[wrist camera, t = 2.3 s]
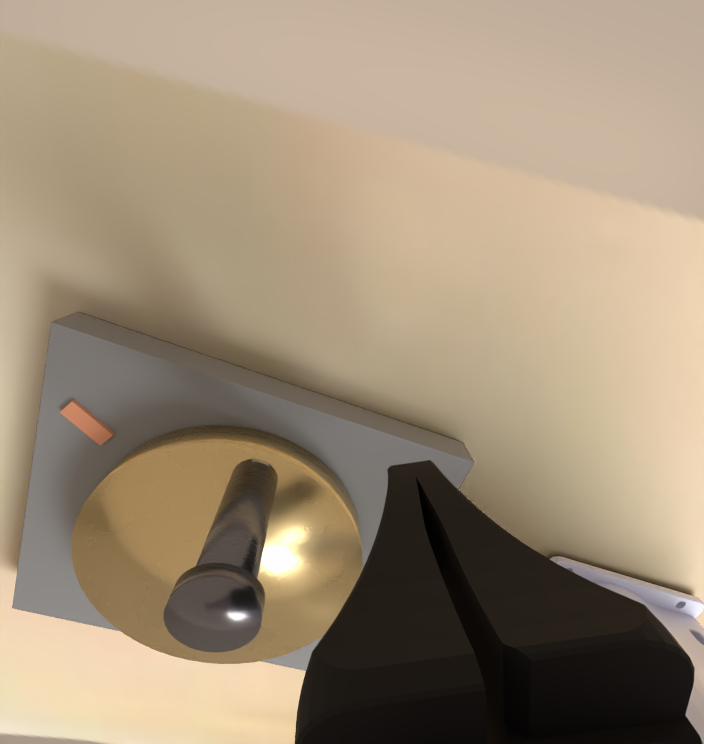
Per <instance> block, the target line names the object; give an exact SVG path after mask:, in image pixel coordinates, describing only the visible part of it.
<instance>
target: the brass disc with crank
mask: <svg viewBox="0 0 704 744" xmlns="http://www.w3.org/2000/svg"><path fill="white" fill-rule="evenodd" d="M71 553H72V563H73V566H74V570H75V574H76V577H77V579H78V581H79V584H80V586H81V588H82V590H83V592H84V593H85V595H86V596H87V598H88V599H89V601H90V602H91V604H92V605H93V606H94V607H95V608H96V609H97V611H98V612H99V613H100V614H101V615H102V616H103V617H104V618H105V619H106V620H107V621H109V622H110V623H111V624H112V625H113V626H114V627H116V628H117V629H119V630H120V631H121V632H123V633H124V634H125V635H127V636H129V637H131V638H132V639H134V640H136V641H137V642H139V643H141V644H143V645H145V646H148V647H150V648H152V649H154V650H157V651H160V652H163V653H165V654H168V655H171V656H175V657H179V658H183V659H187V660H193V661H199V662H205V663H218V664H239V663H249V662H257V661H262V660H268V659H272V658H276V657H279V656H283V655H286V654H289V653H291V652H294V651H296V650H299V649H301V648H303V647H305V646H307V645H309V644H310V643H312V642H314V641H316V640H317V639H319V638H320V637H321V636H323V635H324V634H325V633H326V632H327V630H328V629H329V627H330V626H331V625H332V623H333V622H334V620H335V619H336V617H337V616H338V614H339V612H340V610H341V609H342V607H343V605H344V604H345V602H346V600H347V599H348V597H349V595H350V593H351V592H352V590H353V588H354V586H355V584H356V582H357V580H358V578H359V576H360V574H361V572H362V569H363V557H362V545H361V533H360V522H359V518H358V514H357V510H356V507H355V505H354V503H353V500H352V498H351V496H350V494H349V492H348V491H347V489H346V488H345V486H344V484H343V483H342V481H341V480H340V479H339V478H338V477H337V476H336V475H335V473H334V472H333V471H332V470H331V469H330V468H329V467H328V466H327V465H326V464H324V463H323V462H322V461H321V460H320V459H319V458H317V457H316V456H314V455H313V454H311V453H310V452H309V451H307V450H306V449H304V448H302V447H300V446H298V445H296V444H294V443H293V442H291V441H289V440H286V439H284V438H281V437H279V436H276V435H273V434H271V433H267V432H263V431H259V430H255V429H251V428H244V427H237V426H222V425H209V426H198V427H190V428H185V429H181V430H176V431H172V432H169V433H166V434H164V435H161V436H158V437H155V438H153V439H151V440H149V441H147V442H145V443H143V444H141V445H140V446H138V447H137V448H135V449H134V450H133V451H131V452H130V453H128V454H127V455H126V456H125V457H124V458H123V459H122V460H121V461H119V462H118V463H117V464H116V465H115V466H114V468H113V469H112V470H111V471H110V472H109V473H108V475H107V476H106V477H105V478H104V479H103V480H102V481H101V483H100V484H99V485H98V486H97V487H96V488H95V490H94V491H93V492H92V493H91V495H90V496H89V497H88V499H87V500H86V501H85V503H84V504H83V506H82V508H81V510H80V512H79V514H78V516H77V518H76V522H75V525H74V528H73V532H72V541H71Z"/></svg>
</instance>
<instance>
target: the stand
mask: <svg viewBox="0 0 704 744" xmlns="http://www.w3.org/2000/svg"><path fill="white" fill-rule="evenodd" d="M209 425H222V426H237V427H244V428H251V429H255V430H259V431H263V432H267V433H271V434H273V435H276V436H279V437H281V438H284V439H286V440H289V441H291V442H293V443H294V444H296V445H298V446H300V447H302V448H304V449H306V450H307V451H309V452H310V453H311V454H313V455H314V456H316V457H317V458H319V459H320V460H321V461H322V462H323V463H324V464H326V465H327V466H328V467H329V468H330V469H331V470H332V471H333V472H334V473H335V475H336V476H337V477H338V478H339V479H340V480H341V481H342V483H343V484H344V486H345V488H346V489H347V491H348V492H349V494H350V496H351V498H352V500H353V503H354V505H355V507H356V510H357V514H358V518H359V522H360V533H361V545H362V557H363V568H364V566H365V563H366V561H367V559H368V556H369V554H370V551H371V549H372V546H373V543H374V541H375V538H376V535H377V532H378V528H379V525H380V521H381V518H382V514H383V510H384V505H385V500H386V495H387V487H388V472H387V469H388V468H389V467H390V466H392V465H399V464H406V463H413V462H420V461H427V460H431V461H432V462H433V463H434V464H435V465H436V466H437V467H438V468H439V470H440V471H441V472H442V473H443V474H444V475H445V476H446V477H447V479H448V480H449V481H450V482H451V483H452V484H453V485H454V486H455V487H456V488H457V489H459V487H460V486H461V484H462V482H463V480H464V479H465V477H466V475H467V474H468V472H469V470H470V469H471V467H472V465H473V463H474V461H473V460H472V458H471V456H470V454H469V452H468V451H467V449H466V447H465V445H464V443H463V442H460V441H457V440H454V439H451V438H448V437H445V436H442V435H439V434H436V433H433V432H431V431H428V430H425V429H422V428H419V427H416V426H413V425H410V424H407V423H404V422H401V421H398V420H395V419H392V418H389V417H386V416H383V415H380V414H377V413H375V412H372V411H369V410H366V409H363V408H360V407H357V406H354V405H351V404H348V403H345V402H342V401H339V400H336V399H333V398H330V397H327V396H324V395H321V394H318V393H316V392H313V391H310V390H307V389H304V388H301V387H298V386H295V385H292V384H289V383H286V382H283V381H280V380H277V379H274V378H271V377H268V376H265V375H262V374H260V373H257V372H254V371H251V370H248V369H245V368H242V367H239V366H236V365H233V364H230V363H227V362H224V361H221V360H218V359H215V358H212V357H209V356H206V355H203V354H201V353H198V352H195V351H192V350H189V349H186V348H183V347H180V346H177V345H174V344H171V343H168V342H165V341H162V340H159V339H156V338H153V337H150V336H147V335H145V334H142V333H139V332H136V331H133V330H130V329H127V328H124V327H121V326H118V325H115V324H112V323H109V322H106V321H103V320H100V319H97V318H94V317H91V316H88V315H86V314H83V313H80V312H76V313H74V314H71V315H69V316H66V317H64V318H61V319H59V320H56V321H54V322H51V329H50V336H49V343H48V350H47V358H46V365H45V372H44V380H43V387H42V394H41V402H40V409H39V416H38V423H37V431H36V438H35V445H34V453H33V460H32V467H31V475H30V482H29V489H28V496H27V504H26V511H25V518H24V526H23V533H22V540H21V547H20V555H19V562H18V569H17V577H16V584H15V591H14V599H13V606H12V608H14V609H18V610H23V611H28V612H32V613H37V614H42V615H46V616H51V617H56V618H61V619H65V620H70V621H75V622H79V623H84V624H89V625H93V626H98V627H103V628H107V629H112V630H117V631H120V630H119V629H117V628H116V627H114V626H113V625H112V624H111V623H110V622H109V621H107V620H106V619H105V618H104V617H103V616H102V615H101V614H100V613H99V612H98V611H97V609H96V608H95V607H94V606H93V605H92V604H91V602H90V601H89V599H88V598H87V596H86V595H85V593H84V592H83V590H82V588H81V586H80V584H79V581H78V579H77V577H76V574H75V570H74V566H73V563H72V553H71V541H72V532H73V528H74V525H75V522H76V518H77V516H78V514H79V512H80V510H81V508H82V506H83V504H84V503H85V501H86V500H87V499H88V497H89V496H90V495H91V493H92V492H93V491H94V490H95V488H96V487H97V486H98V485H99V484H100V483H101V481H102V480H103V479H104V478H105V477H106V476H107V475H108V473H109V472H110V471H111V470H112V469H113V468H114V466H115V465H116V464H117V463H118V462H119V461H121V460H122V459H123V458H124V457H125V456H126V455H127V454H128V453H130V452H131V451H133V450H134V449H135V448H137V447H138V446H140V445H141V444H143V443H145V442H147V441H149V440H151V439H153V438H155V437H158V436H161V435H164V434H166V433H169V432H172V431H176V430H181V429H185V428H190V427H198V426H209ZM362 570H363V569H362ZM323 636H324V635H323ZM323 636H321V637H320V638H319V639H317V640H316V641H314V642H312V643H310V644H309V645H307V646H305V647H303V648H301V649H299V650H296V651H294V652H291V653H289V654H286V655H283V656H279V657H276V658H272V659H268V660H262V662H267V663H272V664H276V665H281V666H286V667H290V668H295V669H300V670H304V671H306V670H307V667H308V663H309V660H310V657H311V654H312V651H313V650H314V648H315V647H316V646H317V644H318V643H319V641H320V640H321V639H322V637H323Z"/></svg>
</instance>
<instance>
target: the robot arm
mask: <svg viewBox="0 0 704 744" xmlns="http://www.w3.org/2000/svg"><path fill="white" fill-rule="evenodd" d="M387 472H388V487H387V495H386V500H385V505H384V510H383V514H382V518H381V521H380V525H379V528H378V532H377V535H376V538H375V541H374V543H373V546H372V549H371V551H370V554H369V556H368V559H367V561H366V563H365V566H364V568H363V570H362V572H361V574H360V576H359V578H358V580H357V582H356V584H355V586H354V588H353V590H352V592H351V593H350V595H349V597H348V599H347V600H346V602H345V604H344V605H343V607H342V609H341V610H340V612H339V614H338V616H337V617H336V619H335V620H334V622H333V623H332V625H331V626H330V627H329V629H328V630H327V632H326V633H325V634H324V636H323V637H322V639H321V640H320V641H319V643H318V644H317V646H316V647H315V648H314V650H313V651H312V654H311V657H310V660H309V663H308V667H307V670H306V673H305V677H304V681H303V685H302V689H301V694H300V699H299V705H298V711H297V721H296V734H295V744H704V628H703V627H702V626H701V625H700V623H699V622H698V621H697V620H696V618H697V616H698V615H699V614H700V613H701V612H702V611H703V610H704V603H703V602H702V601H701V600H700V599H699V598H697V597H695V596H692V595H688V594H685V593H682V592H678V591H675V590H672V589H668V588H665V587H662V586H658V585H655V584H651V583H648V582H645V581H641V580H638V579H635V578H631V577H628V576H625V575H621V574H618V573H615V572H611V571H608V570H605V569H601V568H598V567H594V566H591V565H588V564H584V563H581V562H578V561H574V560H571V559H568V558H564V557H560V556H556V557H552V558H550V559H548V558H546V557H545V556H543V555H541V554H540V553H538V552H536V551H535V550H533V549H531V548H530V547H528V546H527V545H525V544H524V543H522V542H521V541H519V540H518V539H516V538H515V537H514V536H512V535H511V534H509V533H508V532H507V531H505V530H504V529H503V528H501V527H500V526H499V525H497V524H496V523H495V522H494V521H492V520H491V519H490V518H489V517H488V516H486V515H485V514H484V513H483V512H482V511H480V510H479V509H478V508H477V507H476V506H475V505H474V504H473V503H472V502H471V501H469V500H468V499H467V498H466V497H465V496H464V495H463V494H462V493H461V492H460V491H459V490H458V489H457V488H456V487H455V486H454V485H453V484H452V483H451V482H450V481H449V480H448V479H447V477H446V476H445V475H444V474H443V473H442V472H441V471H440V470H439V468H438V467H437V466H436V465H435V464H434V463H433V462H432V461H431V460H427V461H420V462H413V463H406V464H399V465H392V466H390V467H389V468H388V469H387Z"/></svg>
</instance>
